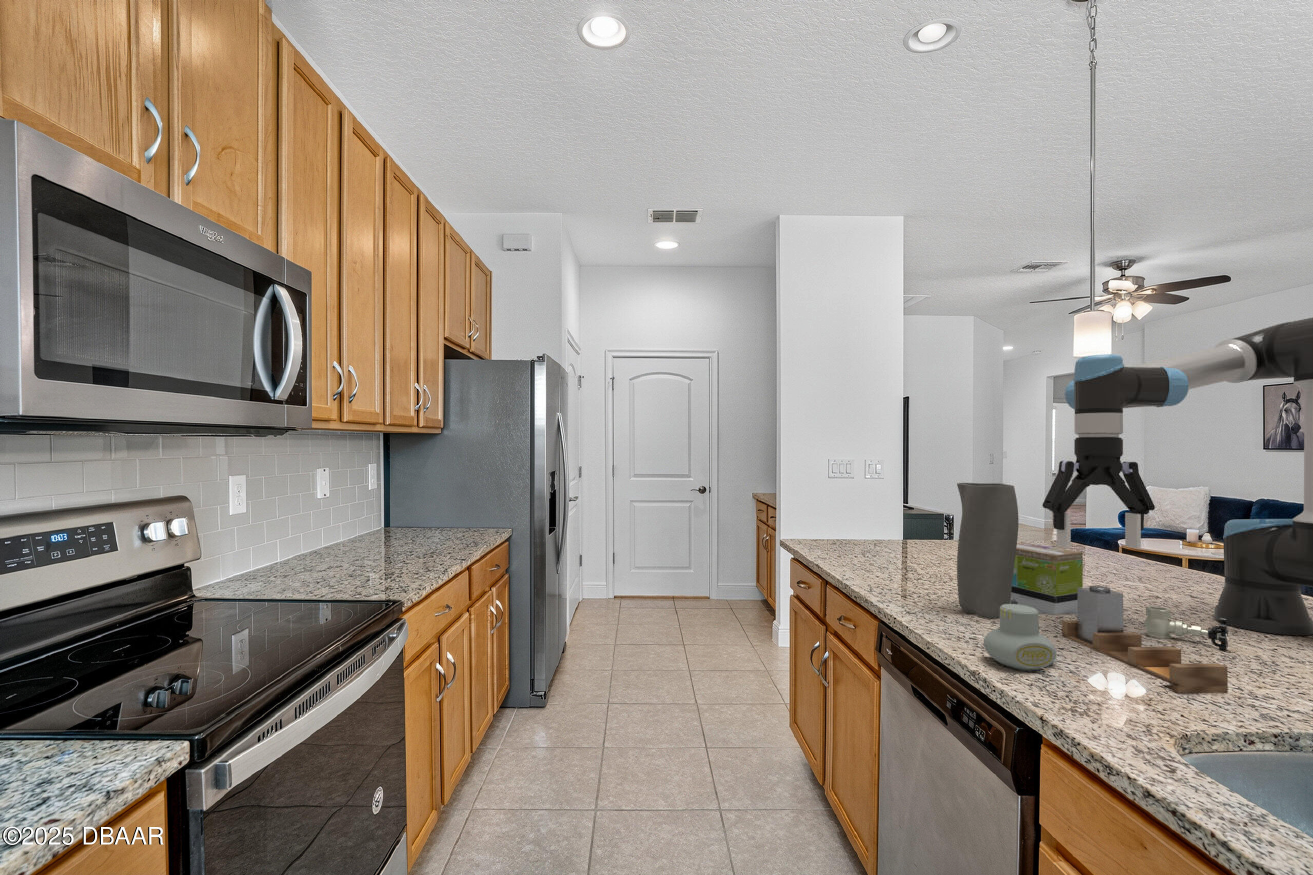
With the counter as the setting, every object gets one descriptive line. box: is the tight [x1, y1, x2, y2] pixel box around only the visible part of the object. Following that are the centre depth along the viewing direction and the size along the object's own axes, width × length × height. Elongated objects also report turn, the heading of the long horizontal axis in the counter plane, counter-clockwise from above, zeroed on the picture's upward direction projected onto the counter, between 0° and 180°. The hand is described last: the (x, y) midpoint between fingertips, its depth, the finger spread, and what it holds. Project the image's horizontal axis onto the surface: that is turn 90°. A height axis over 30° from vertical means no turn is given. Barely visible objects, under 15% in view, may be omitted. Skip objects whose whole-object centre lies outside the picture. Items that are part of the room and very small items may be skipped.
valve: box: [1144, 605, 1229, 652], centre depth 116 cm, size 7×7×12 cm
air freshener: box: [983, 604, 1057, 672], centre depth 106 cm, size 11×8×10 cm
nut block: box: [1077, 584, 1125, 645], centre depth 115 cm, size 5×5×11 cm
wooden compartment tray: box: [1061, 619, 1229, 694], centre depth 106 cm, size 8×26×4 cm, turn 2°
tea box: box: [1010, 541, 1084, 616], centre depth 143 cm, size 15×10×15 cm
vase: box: [956, 482, 1019, 620], centre depth 136 cm, size 12×12×30 cm
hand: (1098, 547), depth 115 cm, fingers open, 13 cm apart
